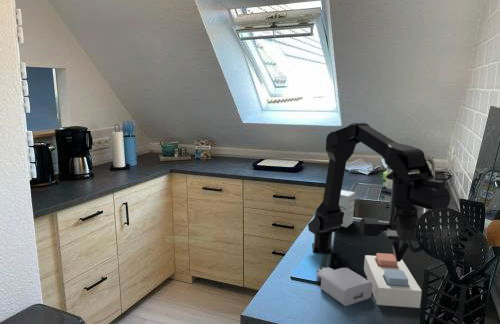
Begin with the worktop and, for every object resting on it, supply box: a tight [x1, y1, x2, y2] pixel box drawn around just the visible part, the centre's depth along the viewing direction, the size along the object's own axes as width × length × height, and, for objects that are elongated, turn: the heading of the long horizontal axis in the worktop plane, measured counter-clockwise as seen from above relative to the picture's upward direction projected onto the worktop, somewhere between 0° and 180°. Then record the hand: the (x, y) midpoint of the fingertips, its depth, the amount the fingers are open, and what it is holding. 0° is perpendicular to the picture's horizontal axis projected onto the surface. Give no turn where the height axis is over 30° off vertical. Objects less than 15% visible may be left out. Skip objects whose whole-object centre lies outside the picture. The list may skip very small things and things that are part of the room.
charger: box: [316, 266, 373, 307], centre depth 100 cm, size 5×9×15 cm
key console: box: [363, 254, 423, 309], centre depth 101 cm, size 18×10×4 cm, turn 173°
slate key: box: [384, 269, 408, 287], centre depth 95 cm, size 5×5×4 cm
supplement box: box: [339, 189, 356, 228], centre depth 147 cm, size 7×7×13 cm
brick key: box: [375, 252, 397, 268], centre depth 105 cm, size 5×5×4 cm
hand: (398, 261), depth 94 cm, fingers closed
